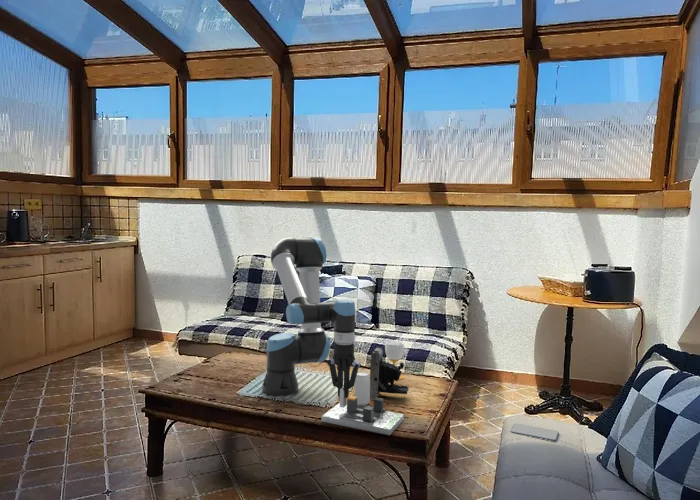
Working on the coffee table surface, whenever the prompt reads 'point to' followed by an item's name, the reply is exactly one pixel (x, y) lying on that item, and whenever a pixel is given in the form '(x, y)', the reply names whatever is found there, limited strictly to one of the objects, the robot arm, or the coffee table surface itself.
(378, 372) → the vintage camera
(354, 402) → the breaker
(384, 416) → the breaker panel
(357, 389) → the beverage can
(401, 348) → the cup
